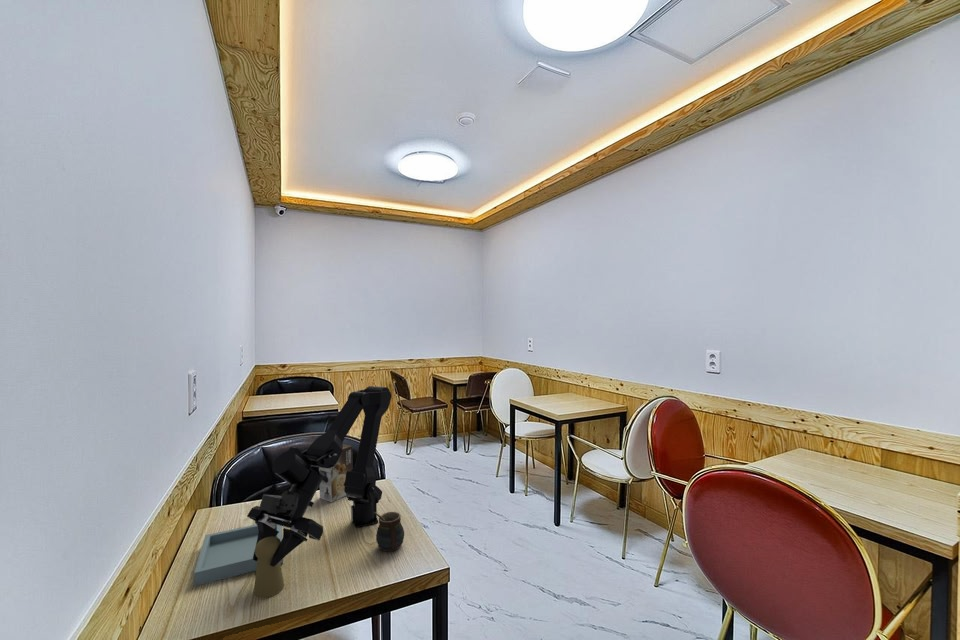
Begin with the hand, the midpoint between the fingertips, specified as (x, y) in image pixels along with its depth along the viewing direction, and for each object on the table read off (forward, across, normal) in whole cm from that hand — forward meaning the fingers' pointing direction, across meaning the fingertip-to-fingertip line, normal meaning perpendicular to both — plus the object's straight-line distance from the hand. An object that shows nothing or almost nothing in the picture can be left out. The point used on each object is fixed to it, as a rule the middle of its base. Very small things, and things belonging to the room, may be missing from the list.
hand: (262, 563), depth 90 cm
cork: (+4, 0, +6) cm, 7 cm away
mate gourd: (-13, +15, +23) cm, 30 cm away
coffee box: (-26, -20, +36) cm, 49 cm away
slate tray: (-1, -18, +11) cm, 21 cm away
